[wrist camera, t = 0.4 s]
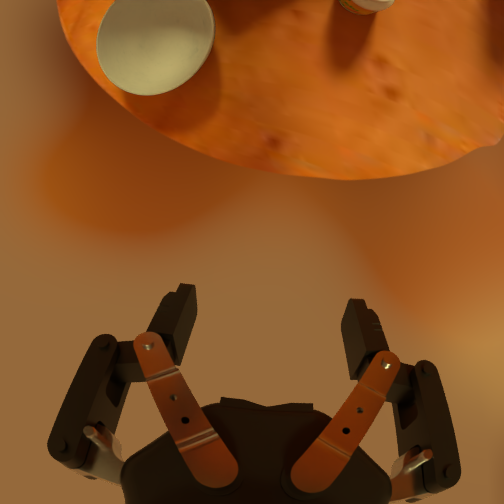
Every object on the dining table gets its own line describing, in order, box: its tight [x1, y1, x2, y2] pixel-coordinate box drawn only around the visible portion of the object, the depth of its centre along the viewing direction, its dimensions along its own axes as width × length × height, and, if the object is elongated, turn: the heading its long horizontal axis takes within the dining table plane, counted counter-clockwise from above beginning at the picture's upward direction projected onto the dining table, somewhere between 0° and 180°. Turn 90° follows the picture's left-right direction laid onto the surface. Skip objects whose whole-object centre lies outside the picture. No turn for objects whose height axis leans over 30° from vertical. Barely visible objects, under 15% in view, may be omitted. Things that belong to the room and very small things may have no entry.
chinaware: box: [96, 0, 215, 96], centre depth 23 cm, size 15×15×8 cm
